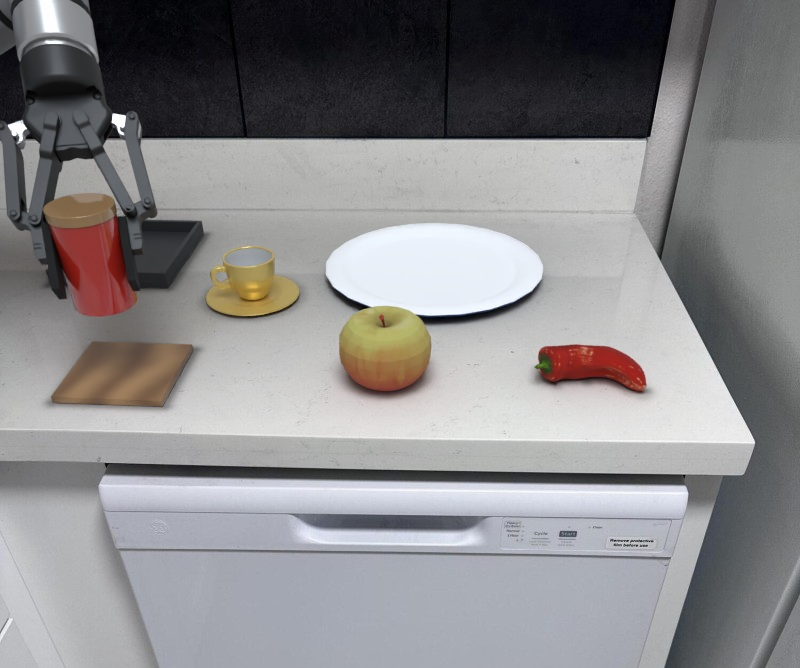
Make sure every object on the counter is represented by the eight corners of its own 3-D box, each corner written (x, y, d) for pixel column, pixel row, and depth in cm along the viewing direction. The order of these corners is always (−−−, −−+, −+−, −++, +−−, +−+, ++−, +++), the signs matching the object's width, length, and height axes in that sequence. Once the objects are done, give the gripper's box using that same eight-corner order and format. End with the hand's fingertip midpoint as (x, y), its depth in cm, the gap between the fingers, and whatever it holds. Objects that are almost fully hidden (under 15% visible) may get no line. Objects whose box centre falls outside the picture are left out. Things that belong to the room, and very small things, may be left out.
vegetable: (539, 367, 81) (652, 380, 82) (538, 327, 84) (648, 340, 84) (528, 393, 85) (636, 406, 86) (528, 354, 88) (633, 367, 88)
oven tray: (49, 285, 105) (44, 270, 104) (99, 232, 119) (95, 218, 117) (168, 288, 104) (164, 273, 103) (204, 234, 118) (201, 220, 116)
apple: (349, 409, 82) (345, 340, 77) (333, 363, 89) (328, 296, 84) (440, 396, 84) (442, 327, 79) (417, 352, 91) (417, 286, 86)
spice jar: (63, 316, 80) (31, 217, 73) (87, 287, 85) (59, 192, 78) (126, 318, 79) (99, 218, 73) (147, 289, 84) (124, 193, 78)
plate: (342, 337, 94) (341, 324, 93) (313, 242, 115) (312, 230, 114) (574, 313, 98) (576, 300, 97) (505, 225, 119) (506, 214, 118)
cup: (287, 271, 108) (282, 232, 104) (310, 309, 99) (306, 267, 96) (199, 285, 105) (191, 245, 101) (215, 325, 96) (207, 283, 93)
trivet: (52, 402, 84) (50, 396, 83) (94, 347, 93) (92, 340, 92) (162, 406, 83) (160, 400, 83) (193, 350, 92) (192, 344, 91)
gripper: (164, 81, 84) (200, 292, 83) (-29, 94, 80) (6, 314, 80) (153, 32, 76) (193, 264, 75) (-60, 45, 73) (-22, 287, 72)
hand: (97, 289), depth 77 cm, fingers closed on spice jar, 6 cm apart
